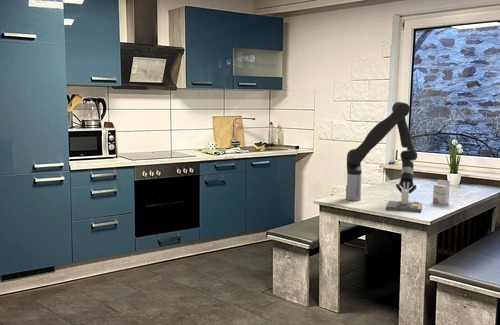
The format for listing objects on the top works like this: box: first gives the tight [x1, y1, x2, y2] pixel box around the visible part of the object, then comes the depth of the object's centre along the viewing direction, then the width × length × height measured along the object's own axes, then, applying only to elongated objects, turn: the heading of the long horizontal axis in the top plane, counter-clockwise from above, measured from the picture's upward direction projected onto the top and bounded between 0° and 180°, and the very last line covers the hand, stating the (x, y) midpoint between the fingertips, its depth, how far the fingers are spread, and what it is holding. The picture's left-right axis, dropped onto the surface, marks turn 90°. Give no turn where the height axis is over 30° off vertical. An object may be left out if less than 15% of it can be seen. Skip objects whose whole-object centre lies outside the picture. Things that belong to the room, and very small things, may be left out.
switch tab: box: [400, 189, 410, 204], centre depth 309 cm, size 4×4×8 cm
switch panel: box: [385, 200, 423, 213], centre depth 308 cm, size 20×18×4 cm
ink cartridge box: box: [432, 179, 451, 205], centre depth 322 cm, size 9×5×15 cm, turn 44°
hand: (405, 197), depth 312 cm, fingers closed
